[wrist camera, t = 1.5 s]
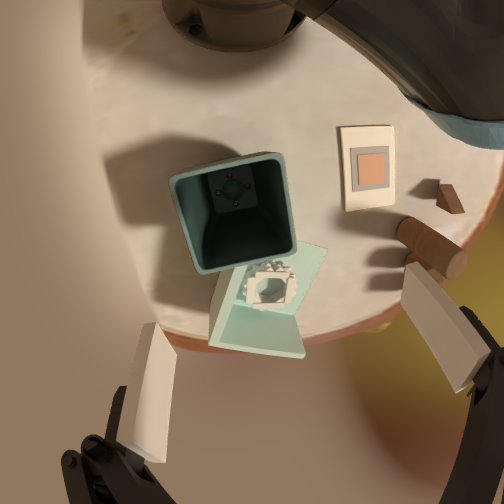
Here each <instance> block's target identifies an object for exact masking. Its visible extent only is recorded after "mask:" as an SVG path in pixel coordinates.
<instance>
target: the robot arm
mask: <svg viewBox="0 0 504 504" xmlns="http://www.w3.org/2000/svg"><path fill="white" fill-rule="evenodd" d="M162 4H163V9H164V12H165V14H166V16H167V18H168V20H169V21H170V23H171V24H172V26H173V27H174V28H175V30H176V31H177V32H178V33H179V34H181V35H182V36H183V37H184V38H186V39H187V40H189V41H191V42H193V43H195V44H197V45H199V46H202V47H205V48H208V49H212V50H216V51H223V52H248V51H255V50H259V49H263V48H266V47H270V46H272V45H275V44H277V43H279V42H281V41H282V40H284V39H286V38H287V37H288V36H290V35H291V34H292V33H293V32H294V31H295V30H296V29H297V28H298V27H299V26H300V25H301V24H302V23H303V21H304V20H305V19H306V17H307V16H308V17H309V18H311V19H312V20H313V21H315V22H316V23H318V24H320V25H321V26H323V27H324V28H326V29H327V30H329V31H330V32H332V33H333V34H335V35H336V36H338V37H339V38H340V39H342V40H343V41H345V42H346V43H347V44H349V45H350V46H351V47H353V48H354V49H355V50H357V51H358V52H359V53H361V54H362V55H363V56H364V57H366V58H367V59H368V60H369V61H370V62H372V63H373V64H374V65H375V66H376V67H377V68H379V69H380V70H381V71H382V72H383V73H384V74H385V75H386V76H387V77H388V78H389V79H390V80H391V81H393V82H394V83H395V84H396V85H397V86H398V88H399V90H400V91H401V92H402V94H403V95H404V96H405V97H406V98H407V99H408V100H409V101H410V102H411V103H412V104H413V105H415V106H416V107H418V108H419V109H421V110H423V111H424V112H425V113H426V114H427V116H428V117H429V118H430V119H431V120H432V121H433V122H434V123H435V124H436V125H437V126H438V127H439V128H440V129H441V130H443V131H444V132H445V133H447V134H448V135H450V136H451V137H453V138H456V139H459V140H461V141H463V142H465V143H466V144H469V145H472V146H475V147H479V148H484V149H495V150H504V0H162ZM400 304H401V306H402V307H403V309H404V310H405V312H406V313H407V314H408V316H409V317H410V319H411V320H412V322H413V323H414V325H415V326H416V328H417V329H418V331H419V332H420V334H421V336H422V337H423V339H424V340H425V342H426V344H427V345H428V347H429V348H430V350H431V351H432V353H433V355H434V356H435V358H436V360H437V361H438V363H439V365H440V366H441V368H442V370H443V372H444V373H445V375H446V377H447V379H448V380H449V382H450V384H451V386H452V388H453V390H454V391H455V393H458V392H459V391H461V390H463V389H464V388H466V387H467V386H468V385H469V384H470V382H471V381H472V380H473V382H474V383H475V384H474V385H473V387H472V388H471V389H470V391H469V392H468V394H467V396H469V395H470V394H471V393H472V396H471V402H470V407H469V413H468V417H467V422H466V426H465V430H464V434H463V438H462V441H461V445H460V448H459V451H458V455H457V458H456V461H455V464H454V467H453V470H452V472H451V475H450V478H449V480H448V483H447V486H446V488H445V490H444V493H443V495H442V498H441V500H440V502H439V504H492V502H493V500H494V497H495V494H496V491H497V488H498V485H499V481H500V479H501V475H502V471H503V468H504V347H503V348H501V347H500V346H499V345H498V344H497V342H496V341H495V340H494V338H493V337H492V336H491V334H490V333H489V332H488V330H487V329H486V328H485V326H483V325H482V323H481V321H480V320H478V317H477V316H476V315H475V314H474V313H473V311H472V310H470V309H468V308H467V307H465V306H462V307H460V308H458V307H457V305H456V304H455V303H454V302H453V301H452V299H451V298H450V297H449V296H448V295H447V294H446V292H445V291H444V290H443V289H442V288H441V287H440V286H439V284H438V283H437V282H436V281H435V280H434V279H433V278H432V277H431V276H430V274H429V273H428V272H427V271H426V270H425V269H424V268H423V267H422V266H421V265H420V264H419V263H418V262H414V263H410V264H407V265H406V269H405V276H404V283H403V289H402V295H401V301H400ZM176 358H177V354H176V353H175V351H174V350H173V348H172V347H171V345H170V343H169V342H168V340H167V339H166V337H165V335H164V334H163V332H162V330H161V329H160V327H159V325H158V324H157V322H153V323H147V324H144V325H143V328H142V332H141V335H140V339H139V342H138V346H137V350H136V353H135V357H134V361H133V365H132V368H131V373H130V377H129V381H128V385H127V386H120V387H119V388H118V390H117V391H116V393H115V395H114V398H113V402H112V407H111V411H110V412H111V414H110V415H109V420H108V424H107V429H106V434H105V439H103V438H102V437H100V436H98V435H89V436H87V437H86V438H85V439H84V440H83V442H82V444H81V454H80V453H78V452H77V451H75V450H67V451H66V452H65V453H64V454H63V456H62V458H61V466H62V471H63V477H64V482H65V486H66V491H67V495H68V499H69V502H70V504H176V502H175V501H174V500H173V499H172V498H171V497H170V495H169V494H168V493H167V492H166V491H165V489H164V488H163V487H162V486H161V485H160V483H159V482H158V481H157V479H156V478H155V477H154V475H153V474H152V473H151V471H150V470H149V469H148V467H147V466H146V465H145V464H144V458H145V459H146V460H148V461H150V462H158V463H166V452H167V439H168V428H169V416H170V406H171V398H172V389H173V381H174V373H175V365H176ZM501 504H504V489H503V495H502V501H501Z"/></svg>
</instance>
